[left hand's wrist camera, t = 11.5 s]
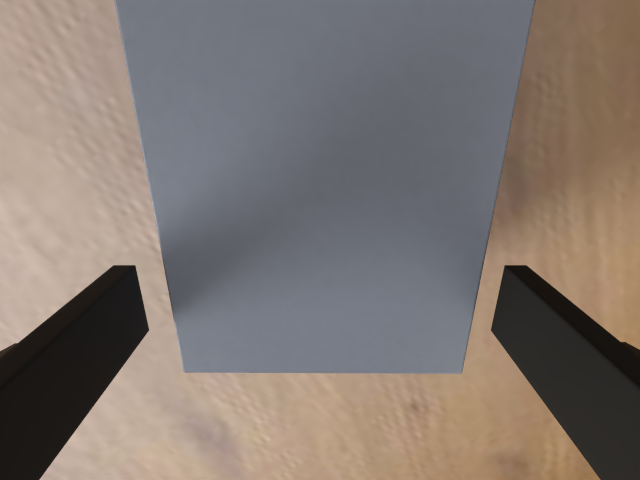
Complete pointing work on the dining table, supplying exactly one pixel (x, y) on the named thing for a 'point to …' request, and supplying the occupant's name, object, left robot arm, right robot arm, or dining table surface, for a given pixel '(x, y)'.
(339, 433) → the dining table surface
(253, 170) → the cabinet
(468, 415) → the dining table surface
